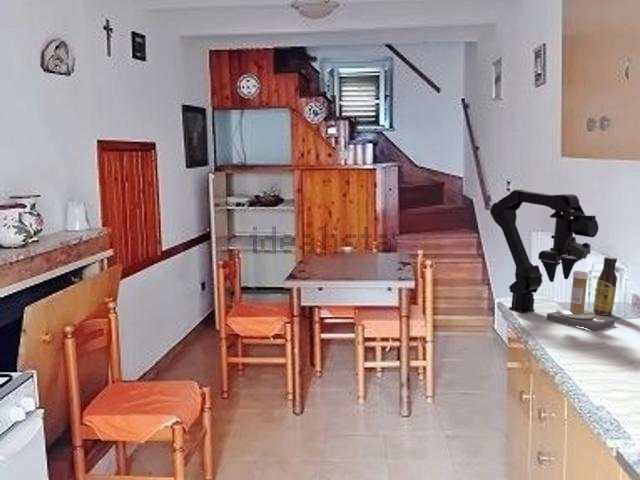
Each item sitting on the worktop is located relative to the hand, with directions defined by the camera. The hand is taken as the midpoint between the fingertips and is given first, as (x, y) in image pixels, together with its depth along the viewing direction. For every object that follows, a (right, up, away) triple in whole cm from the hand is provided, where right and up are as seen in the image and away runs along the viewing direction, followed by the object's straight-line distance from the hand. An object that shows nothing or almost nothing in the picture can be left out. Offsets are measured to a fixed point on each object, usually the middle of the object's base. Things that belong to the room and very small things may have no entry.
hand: (558, 280), depth 229 cm
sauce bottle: (+20, -13, +13) cm, 27 cm away
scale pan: (+5, -11, 0) cm, 13 cm away
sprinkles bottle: (+6, -11, 0) cm, 12 cm away
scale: (+7, -14, -1) cm, 15 cm away
